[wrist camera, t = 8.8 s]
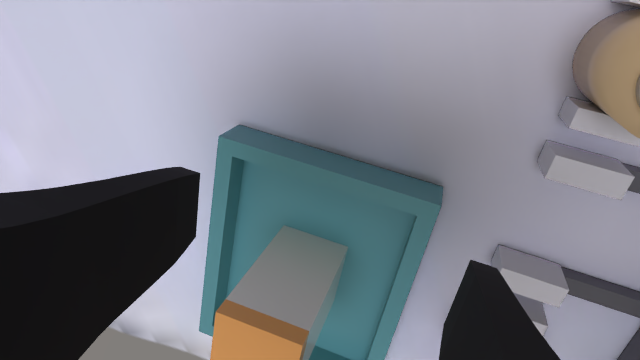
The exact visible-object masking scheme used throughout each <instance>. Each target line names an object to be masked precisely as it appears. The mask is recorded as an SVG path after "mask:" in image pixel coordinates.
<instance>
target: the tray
mask: <svg viewBox="0 0 640 360" xmlns="http://www.w3.org/2000/svg"><path fill="white" fill-rule="evenodd" d="M442 195H443V187H442V186H439V185H435V184H432V183H429V182H426V181H422V180H419V179H416V178H412V177H409V176H406V175H403V174H399V173H396V172H393V171H389V170H386V169H383V168H380V167H376V166H373V165H370V164H366V163H363V162H360V161H357V160H353V159H350V158H347V157H344V156H340V155H337V154H334V153H330V152H327V151H324V150H321V149H317V148H314V147H311V146H307V145H304V144H301V143H298V142H294V141H291V140H288V139H284V138H281V137H278V136H275V135H271V134H268V133H265V132H261V131H258V130H255V129H252V128H248V127H245V126H242V125H238V126H236V127H234V128H232V129H231V130H229V131H227V132H225V133H223V134H222V135H220V136H219V139H218V149H217V158H216V168H215V178H214V188H213V198H212V208H211V218H210V227H209V237H208V247H207V257H206V267H205V277H204V287H203V297H202V306H201V316H200V326H199V331H200V332H202V333H205V334H207V335H210V336H212V337H213V331H214V322H215V314H216V311H217V310H218V308H219V307H220V306H221V304H222V303H223V302H224V301H225V299H226V298H227V297H228V296H229V294H230V293H231V292H232V290H233V289H234V288H235V287H236V285H237V284H238V283H239V282H240V280H241V279H242V278H243V276H244V275H245V274H246V273H247V271H248V270H249V269H250V268H251V266H252V265H253V264H254V263H255V261H256V260H257V259H258V257H259V256H260V255H261V254H262V252H263V251H264V250H265V249H266V247H267V246H268V245H269V243H270V242H271V241H272V240H273V238H274V237H275V236H276V235H277V233H278V232H279V231H280V230H281V228H282V227H283V226H284V225H285V226H288V227H291V228H294V229H297V230H300V231H303V232H306V233H309V234H312V235H315V236H317V237H320V238H323V239H326V240H329V241H332V242H335V243H338V244H341V245H344V246H347V247H348V250H347V254H346V257H345V261H344V265H343V269H342V272H341V276H340V280H339V284H338V287H337V291H336V295H335V299H334V302H333V304H332V306H331V309H330V311H329V313H328V316H327V318H326V320H325V323H324V325H323V327H322V330H321V332H320V334H319V337H318V339H317V341H316V344H315V346H314V349H313V351H312V353H311V356H310V358H309V360H384V359H385V356H386V354H387V351H388V348H389V345H390V343H391V340H392V337H393V335H394V332H395V329H396V327H397V324H398V321H399V319H400V316H401V313H402V310H403V308H404V305H405V302H406V300H407V297H408V294H409V292H410V289H411V286H412V284H413V281H414V278H415V275H416V273H417V270H418V267H419V265H420V262H421V259H422V257H423V254H424V251H425V249H426V246H427V243H428V240H429V238H430V235H431V232H432V230H433V227H434V224H435V222H436V219H437V216H438V214H439V211H440V208H441V204H442Z"/></svg>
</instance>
